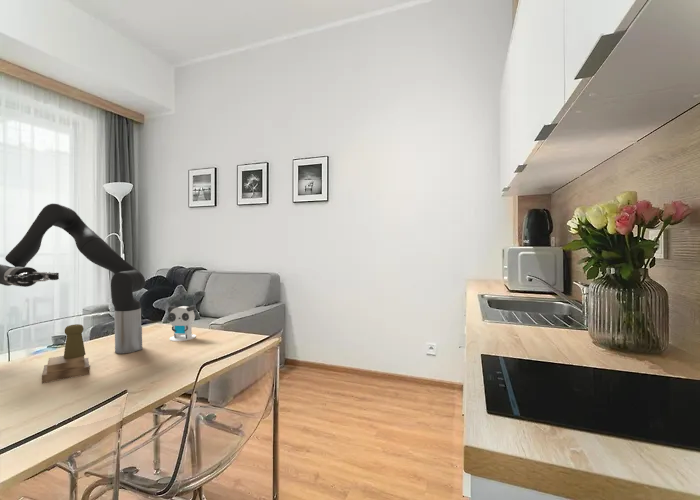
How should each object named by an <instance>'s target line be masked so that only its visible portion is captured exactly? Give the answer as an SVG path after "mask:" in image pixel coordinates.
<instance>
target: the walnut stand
mask: <svg viewBox="0 0 700 500" xmlns="http://www.w3.org/2000/svg"><path fill="white" fill-rule="evenodd" d="M86 375H90V361H89V357H85V355H84V356H82V357H78V358H72V359H64V355H61V356H55V357H54V356H53V357H49V358H48V360H47V364H44V365H43V370H42V373H41V384H47V383H51V382H55V381H61V380H62V381H63V380H65V379H71V378H75V377H76V378H77V377H80V376H86Z"/></svg>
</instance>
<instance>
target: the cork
mask: <svg viewBox="0 0 700 500" xmlns="http://www.w3.org/2000/svg"><path fill="white" fill-rule="evenodd" d="M84 329H85V328H84V326H83V325H82V324H70V325H67V326H66V327H65V328H64V335H66V339H65V345H64V351H63V352H64V353H63V356H64V359H72V358H78V357H82V356H84V357H85V356H86V350H85V343H84V338H83V334H82V333H83V332H84Z"/></svg>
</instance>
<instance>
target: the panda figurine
mask: <svg viewBox="0 0 700 500" xmlns="http://www.w3.org/2000/svg"><path fill="white" fill-rule="evenodd" d="M195 309H196V307H195V305H191V306H186V305H182V306H177V305H172V306H169V307H168V308H167V313H169V314H168V317H167V319H168V322H169V323H170V325H171V326H172V327H171V330H172V331H173V336H170V337H169V341H170V342H185V341H190V340H193V339H195V338H197V335H196V334H195V333H192V332H193V331H192V325H193V323H194V321H195V318H196V315H195V312H194V310H195Z"/></svg>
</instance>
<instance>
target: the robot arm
mask: <svg viewBox="0 0 700 500" xmlns="http://www.w3.org/2000/svg"><path fill="white" fill-rule="evenodd" d="M53 226H54V227H57V228H60V229H62V230H63V231H65V232H66V233H68V235H70V236H71V237H72V238H73V240H74V242H75V245H76V247H77V249H78V251H79V252H80V253H81V254H82V255H83V256H84V257H85V259H87V260H88V261H90V262H91V263H93V264H94V265H97V266H99V267H101V268H103V269H106V270H108V271H109V272H112V273H113V275H112V277H111V281H110V296H111V302H112V305H113V308H114V352H115V354H129V353H133V352H139V351H141V350H143V326H142V305H141V301H139V300H137V299H135V298H134V293H136V292H139V291H141V290H142V289H144V287H145V286H146V278H145V277H144V275H143V273H142V272H141V271H140V270H138V269H137V268H136V267H134V266H133V265H131V264H130V263H129V262H127V260H125V259H124V258H123V257H122V256H121V255H120V254H118V253H117V252H116V251H115V250H114V249H113V248H112V247H111V246H110V245H109V244H108V243H107V242H106V241H105V240H104V239H103V238H101V237H100V235H98V234H97V233H96V232H94V230H92V229H91V228H90V227H89V226H88V225H87V224H86V223H85V222H84V221H83V219H82V218H81V217H80V216H79V214H78V213H77V212H76V211H75V210H74V209H72V208H70V207H67V206H65V205H62V204H59V203H49V204H47V205H45V206H44V207H43V208H42V209H41V210H40V212H39V213H38V215H37V216H36V218H35V220H34V221H33V222H32V224H31V226H30V227H29V228H28V230H27V232H26V233H25V234H24V236H23V237H22V238H21V240H20V241H18V243H17V244H16V245H15V246H14V247H13V248H12V249H11V250H10V251H9V252H8V253H7V255H6V256H5V257H4V259H5V261H6V262H7V263H8V264H10V265H12V266H8V265H4V264H1V263H0V285H2V286H7V287H9V286H14V287H26V288H27V287H31V286H33V285H35V284H36V283H39V282H48V281H58V280H60V278H59V274H60V273H59V272H50V271H49V272H46V271H43V272H41V271H38V270H37V269H35V268H33V267H29V266H27V265H28V263H29V262H31V260H32V259H33V258H34V257H35V256H36V255H37V254H38V252H39V251H40V249H41V246H42V240H43V239H44V238H43V237H44V236H45V234H46V233H47V232H48V230H49V229H51V228H52V227H53Z"/></svg>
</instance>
